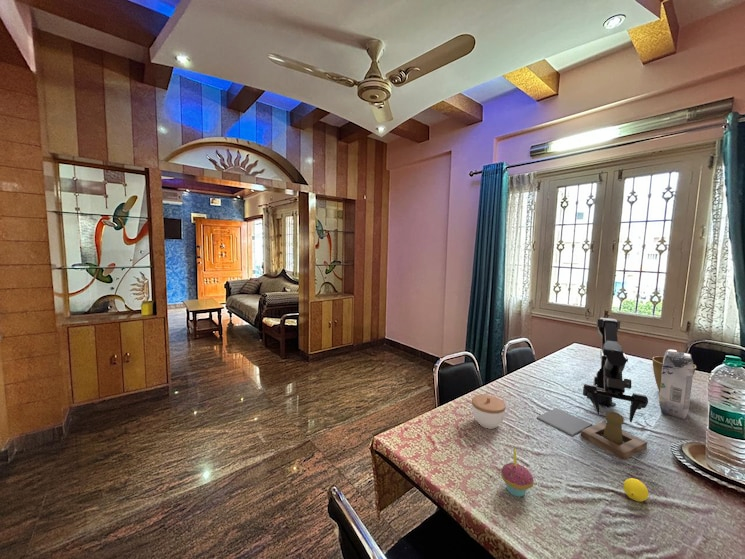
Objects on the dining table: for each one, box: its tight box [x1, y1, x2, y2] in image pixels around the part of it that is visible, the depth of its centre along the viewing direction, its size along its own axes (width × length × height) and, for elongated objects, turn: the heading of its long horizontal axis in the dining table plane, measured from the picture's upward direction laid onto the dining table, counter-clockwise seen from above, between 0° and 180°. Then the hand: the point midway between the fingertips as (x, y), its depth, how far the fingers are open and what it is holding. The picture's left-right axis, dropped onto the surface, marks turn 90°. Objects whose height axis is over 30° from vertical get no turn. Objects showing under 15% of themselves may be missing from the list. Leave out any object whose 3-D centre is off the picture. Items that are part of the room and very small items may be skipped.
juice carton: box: [658, 349, 694, 420], centre depth 129 cm, size 9×10×27 cm
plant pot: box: [652, 356, 697, 393], centre depth 146 cm, size 15×15×16 cm
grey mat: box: [536, 407, 593, 437], centre depth 124 cm, size 14×14×1 cm
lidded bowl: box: [471, 394, 507, 430], centre depth 122 cm, size 13×13×11 cm
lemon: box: [622, 477, 650, 502], centre depth 86 cm, size 7×5×5 cm
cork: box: [602, 411, 625, 445], centre depth 110 cm, size 6×6×11 cm
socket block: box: [579, 421, 648, 461], centre depth 111 cm, size 14×14×2 cm
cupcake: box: [500, 447, 535, 497], centre depth 89 cm, size 9×8×12 cm
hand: (614, 418), depth 110 cm, fingers open, 9 cm apart
